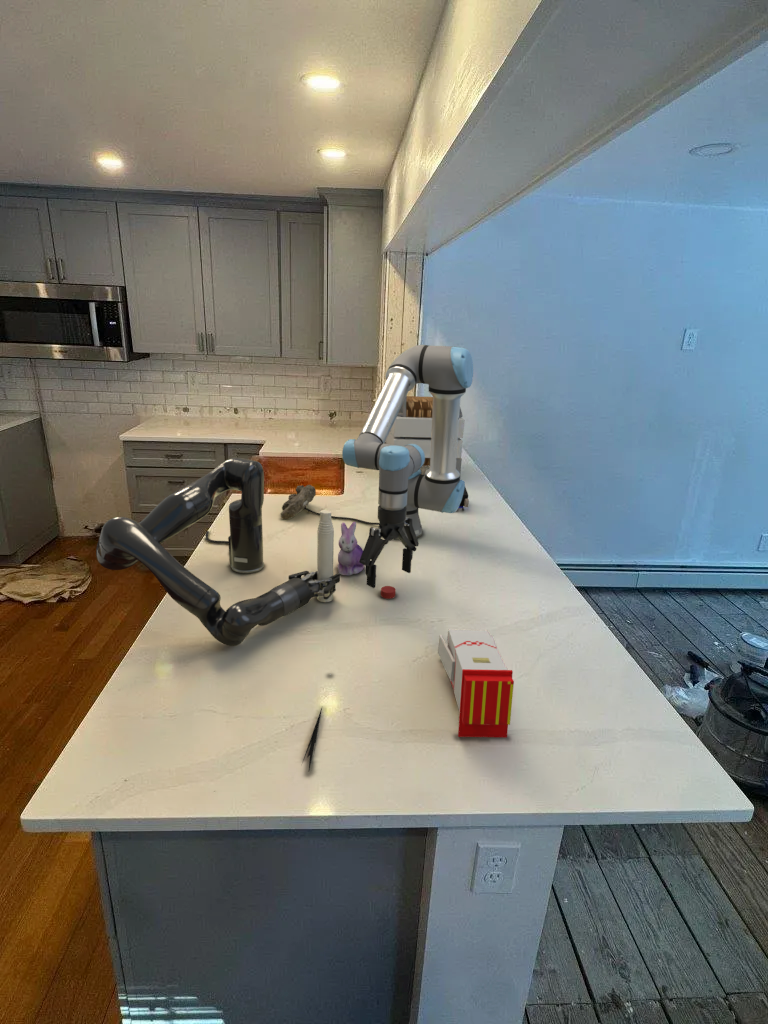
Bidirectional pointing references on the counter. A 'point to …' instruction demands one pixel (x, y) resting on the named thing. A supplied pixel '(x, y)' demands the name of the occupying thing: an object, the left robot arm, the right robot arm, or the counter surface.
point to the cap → (388, 592)
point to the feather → (313, 740)
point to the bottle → (325, 549)
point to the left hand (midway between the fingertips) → (331, 574)
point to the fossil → (298, 501)
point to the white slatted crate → (419, 427)
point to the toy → (478, 682)
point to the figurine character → (464, 500)
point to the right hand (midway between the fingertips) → (389, 578)
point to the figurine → (349, 551)
